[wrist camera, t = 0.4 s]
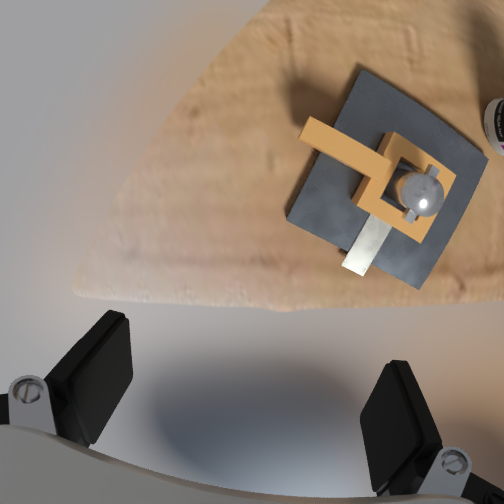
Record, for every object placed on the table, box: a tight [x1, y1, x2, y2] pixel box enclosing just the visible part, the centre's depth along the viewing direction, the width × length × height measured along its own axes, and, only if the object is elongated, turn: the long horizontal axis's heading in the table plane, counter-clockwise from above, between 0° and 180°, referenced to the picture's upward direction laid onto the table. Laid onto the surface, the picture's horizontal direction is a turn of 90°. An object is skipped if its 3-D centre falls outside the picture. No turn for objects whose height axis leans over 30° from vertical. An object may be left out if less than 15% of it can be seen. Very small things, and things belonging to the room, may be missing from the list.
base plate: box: [286, 69, 489, 290], centre depth 31 cm, size 22×20×9 cm
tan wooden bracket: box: [297, 116, 456, 243], centre depth 30 cm, size 9×18×5 cm, turn 65°
